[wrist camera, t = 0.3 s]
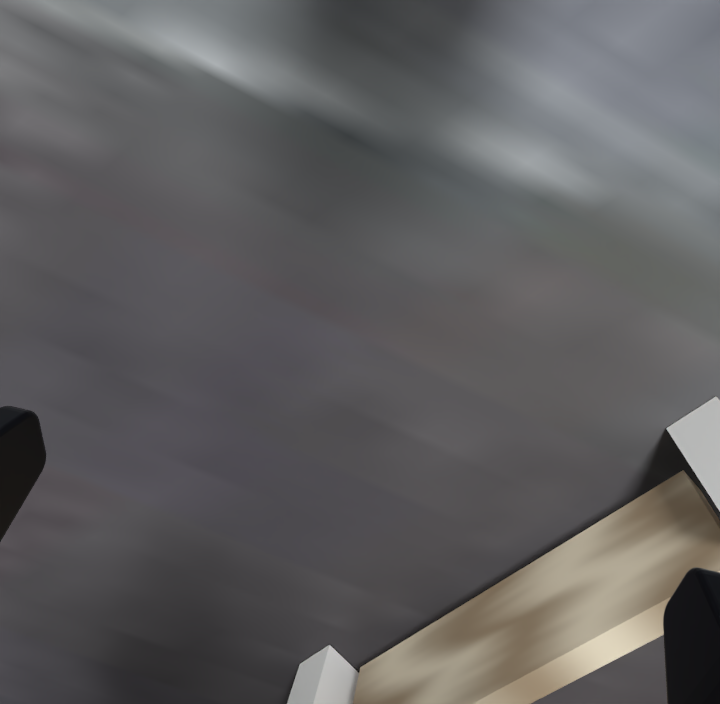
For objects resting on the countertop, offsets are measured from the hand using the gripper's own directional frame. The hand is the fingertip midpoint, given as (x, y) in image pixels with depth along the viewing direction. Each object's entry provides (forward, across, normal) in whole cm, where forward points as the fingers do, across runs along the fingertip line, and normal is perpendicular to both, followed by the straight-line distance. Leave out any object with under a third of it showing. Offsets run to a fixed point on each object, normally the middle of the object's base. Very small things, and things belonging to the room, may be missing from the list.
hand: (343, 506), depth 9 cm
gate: (+11, -6, +14) cm, 19 cm away
